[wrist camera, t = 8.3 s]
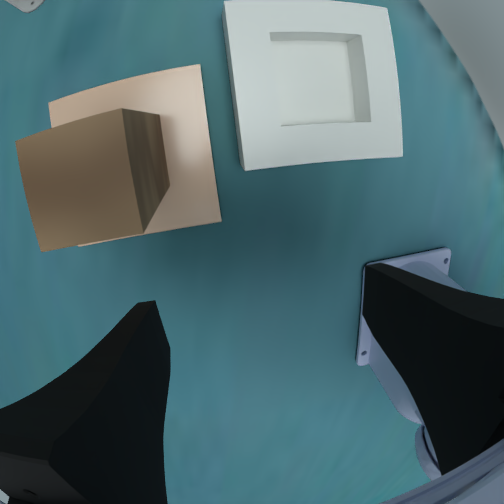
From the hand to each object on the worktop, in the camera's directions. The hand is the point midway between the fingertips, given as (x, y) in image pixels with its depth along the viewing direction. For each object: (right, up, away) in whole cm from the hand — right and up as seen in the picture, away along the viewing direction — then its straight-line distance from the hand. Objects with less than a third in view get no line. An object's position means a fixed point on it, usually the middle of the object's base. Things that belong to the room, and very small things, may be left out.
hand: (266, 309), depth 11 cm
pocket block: (+3, +12, +6) cm, 13 cm away
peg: (-7, +7, +6) cm, 11 cm away
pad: (-7, +7, +6) cm, 12 cm away
